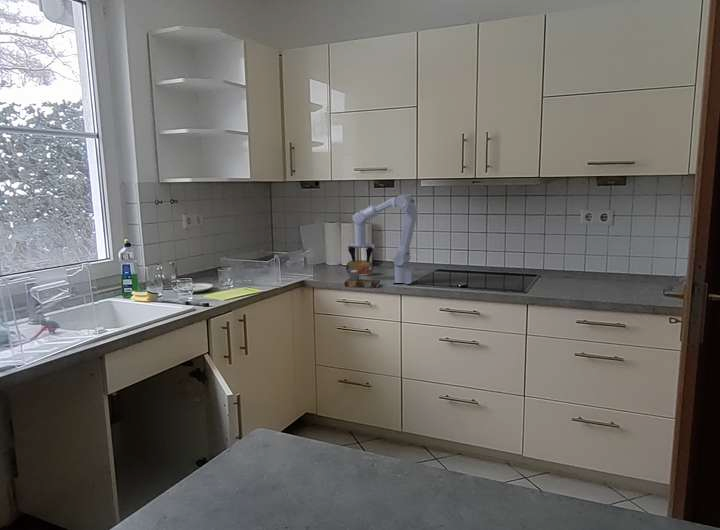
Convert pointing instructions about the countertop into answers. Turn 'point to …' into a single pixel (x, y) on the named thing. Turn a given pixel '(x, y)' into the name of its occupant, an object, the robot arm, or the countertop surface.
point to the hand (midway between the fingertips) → (360, 261)
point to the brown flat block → (362, 283)
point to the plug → (354, 275)
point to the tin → (360, 266)
